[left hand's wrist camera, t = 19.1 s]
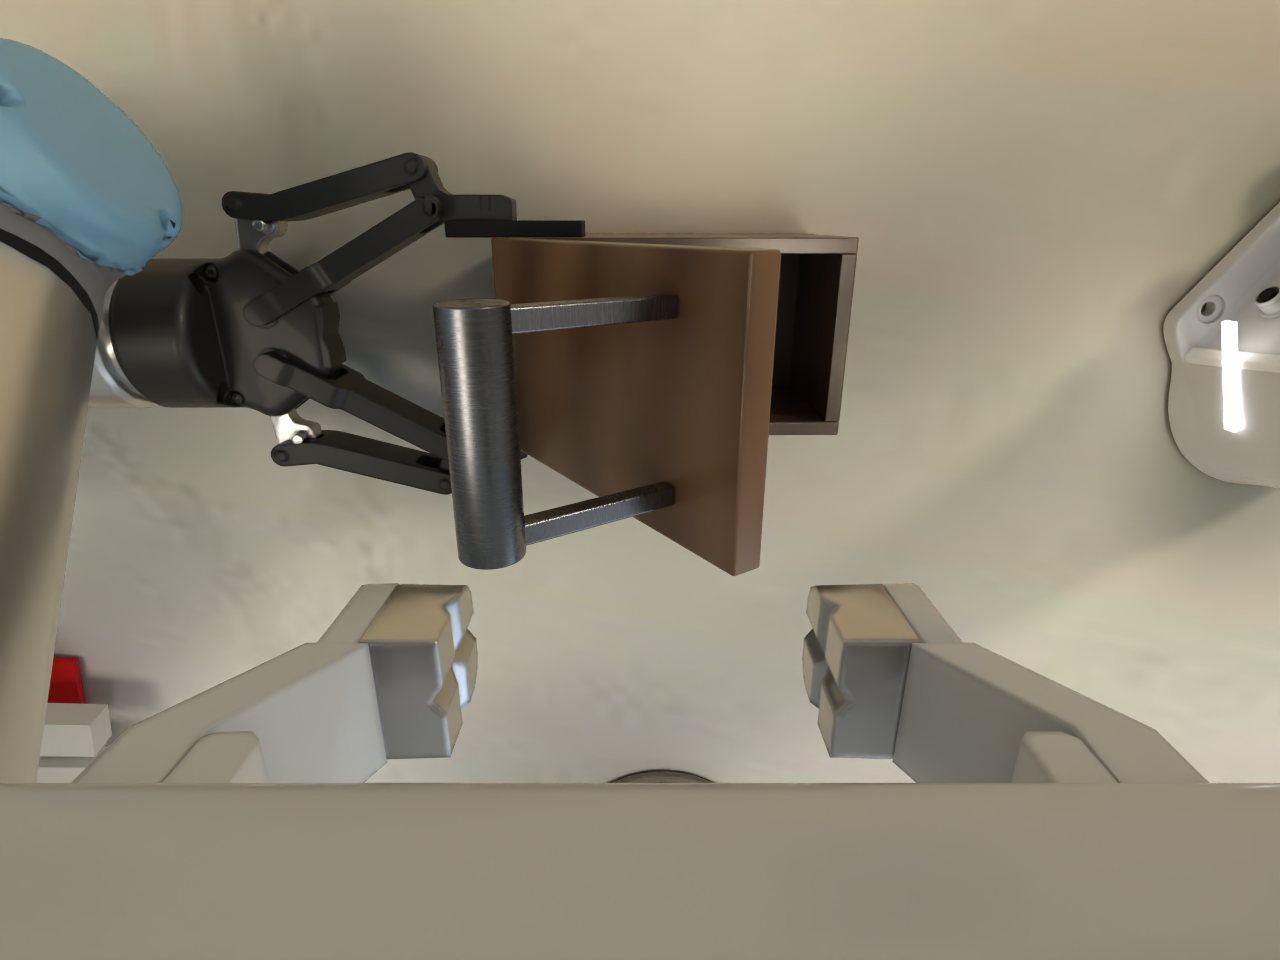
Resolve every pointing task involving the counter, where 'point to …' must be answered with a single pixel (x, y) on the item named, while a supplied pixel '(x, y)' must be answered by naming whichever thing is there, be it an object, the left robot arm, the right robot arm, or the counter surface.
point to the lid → (612, 393)
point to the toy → (70, 726)
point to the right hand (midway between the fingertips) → (586, 334)
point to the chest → (794, 320)
